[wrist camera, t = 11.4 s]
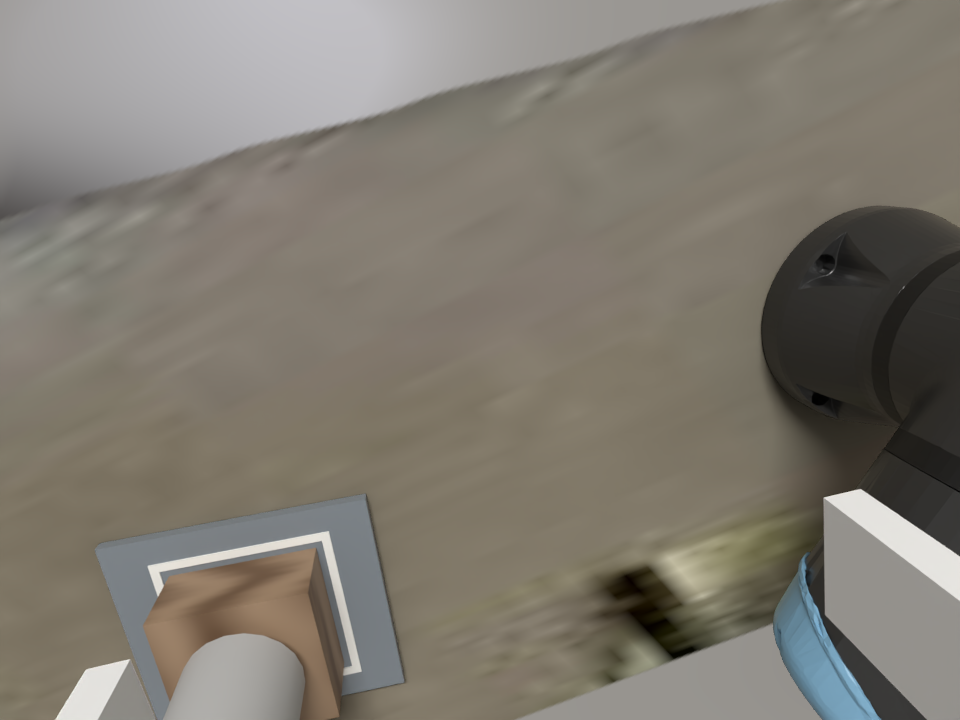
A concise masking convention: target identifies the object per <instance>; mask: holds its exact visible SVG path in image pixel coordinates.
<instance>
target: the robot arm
mask: <svg viewBox="0 0 960 720" xmlns="http://www.w3.org/2000/svg"><path fill="white" fill-rule="evenodd" d="M762 339H763V347H764V352H765V356H766V360H767V362H768V365H769V368H770V370H771V372H772V374H773V375H774V377H775V379H776V380H777V382H778V383H779V384H780V385H781V387H782V388H783V389H784V390H785V391H786V392H787V393H788V394H790V395H791V396H792V397H793V398H795V399H796V400H798V401H799V402H801V403H803V404H805V405H807V406H808V407H810V408H812V409H814V410H815V411H817V412H819V413H821V414H824V415H826V416H829V417H832V418H835V419H839V420H844V421H851V422H860V423H870V424H879V425H889V426H898V427H899V428H898V430H897V431H896V432H895V434H894V435H893V437H892V438H891V440H890V441H889V442H888V444H887V445H886V447H885V448H884V449H883V450H882V452H881V453H880V455H879V456H878V457H877V459H876V460H875V462H874V463H873V465H872V466H871V467H870V469H869V470H868V472H867V473H866V475H865V476H864V477H863V479H862V480H861V482H860V483H859V485H858V486H857V487H856V489H855V490H854V491H850V492H845V493H841V494H837V495H833V496H828V497H824V534H823V536H822V537H821V539H820V540H819V542H818V543H817V544H816V546H815V547H814V549H813V550H812V551H811V552H807V553H806V554H805V555H804V556H803V557H802V559H801V561H800V563H799V568H798V572H797V574H796V575H795V577H794V579H793V580H792V582H791V583H790V585H789V587H788V588H787V590H786V592H785V593H784V595H783V597H782V598H781V600H780V602H779V603H778V605H777V607H776V610H775V613H774V619H773V630H774V635H775V640H776V644H777V646H778V648H779V650H780V654H781V657H782V660H783V662H784V664H785V666H786V668H787V670H788V671H789V673H790V675H791V677H792V678H793V680H794V681H795V683H796V685H797V686H798V688H799V689H800V691H801V692H802V694H803V695H804V696H805V698H806V699H807V701H808V702H809V703H810V705H811V706H812V707H813V709H814V710H815V711H816V712H817V714H818V715H819V716H820V717H821V718H822V720H960V228H959V227H957V226H956V225H954V224H952V223H950V222H949V221H947V220H945V219H943V218H942V217H940V216H937V215H935V214H932V213H929V212H926V211H923V210H918V209H913V208H903V207H891V206H871V207H864V208H859V209H855V210H852V211H849V212H846V213H843V214H841V215H839V216H836V217H834V218H832V219H831V220H829V221H827V222H825V223H824V224H822V225H821V226H819V227H818V228H817V229H815V230H814V231H813V232H811V233H810V234H809V235H808V236H807V237H806V238H805V239H803V240H802V241H801V242H800V243H799V244H798V246H797V247H796V248H795V249H794V250H793V251H792V252H791V254H790V255H789V256H788V258H787V259H786V260H785V262H784V263H783V265H782V267H781V268H780V270H779V272H778V273H777V275H776V277H775V279H774V281H773V284H772V286H771V288H770V291H769V294H768V297H767V300H766V304H765V309H764V314H763V322H762ZM55 720H156V719H155V716H154V714H153V712H152V709H151V707H150V704H149V702H148V700H147V697H146V695H145V693H144V690H143V688H142V686H141V683H140V681H139V679H138V676H137V674H136V671H135V669H134V667H133V664H132V662H131V660H130V659H129V660H125V661H120V662H116V663H112V664H107V665H103V666H99V667H95V668H90V669H86V671H85V672H84V674H83V675H82V677H81V679H80V680H79V682H78V684H77V685H76V687H75V688H74V690H73V692H72V693H71V695H70V697H69V698H68V700H67V701H66V703H65V705H64V706H63V708H62V710H61V711H60V713H59V714H58V716H57V718H56V719H55Z"/></svg>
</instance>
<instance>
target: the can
mask: <svg viewBox="0 0 960 720" xmlns="http://www.w3.org/2000/svg"><path fill="white" fill-rule="evenodd" d="M304 688H305V677H304V670H303V666H302V665H301V663H300V661H299V660H298V658H297V657H296V655H295V653H293V652H292V651H291V650H290V649H289V648H287V647H286V646H285V645H284V644H282V643H281V642H279V641H276V640H274V639H271V638H269V637H266V636H263V635H255V634H246V633H242V634H235V635H227V636H223V637H220V638H218V639H216V640H213V641H211V642H208V643H206V644H205V645H204V646H202V647H201V648H200V649H199V650H198V651H196V652H195V653H194V654H193V655H192V656H191V657H190V659H189V661H188V662H187V664H186V666H185V667H184V669H183V671H182V673H181V676H180V678H179V681H178V683H177V686H176V688H175V691H174V693H173V696H172V698H171V701H170V703H169V706H168V708H167V711H166V713H165V716H164V718H163V720H300V713H301V707H302V701H303V694H304Z"/></svg>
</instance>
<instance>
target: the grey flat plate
mask: <svg viewBox="0 0 960 720" xmlns="http://www.w3.org/2000/svg"><path fill="white" fill-rule="evenodd" d="M312 548H316V549H317V553H318V557H319V561H320V565H321V569H322V573H323V578H324V582H325V586H326V590H327V594H328V598H329V602H330V606H331V610H332V614H333V618H334V622H335V626H336V630H337V635H338V639H339V643H340V647H341V651H342V655H343V659H344V671H343V683H342V695H341V696H343V695H348V694H353V693H357V692H362V691H366V690H371V689H376V688H380V687H385V686H390V685H394V684H399V683H404V672H403V667H402V662H401V658H400V653H399V648H398V643H397V639H396V634H395V629H394V625H393V620H392V615H391V610H390V606H389V601H388V596H387V591H386V587H385V582H384V577H383V572H382V568H381V563H380V558H379V553H378V549H377V544H376V539H375V535H374V530H373V525H372V520H371V516H370V511H369V506H368V501H367V497H366V494H361V495H356V496H350V497H345V498H340V499H334V500H329V501H324V502H318V503H313V504H308V505H302V506H297V507H292V508H286V509H281V510H276V511H270V512H265V513H259V514H254V515H249V516H243V517H238V518H233V519H227V520H222V521H217V522H211V523H206V524H201V525H195V526H190V527H185V528H179V529H174V530H169V531H163V532H158V533H152V534H147V535H142V536H136V537H131V538H126V539H120V540H115V541H110V542H104V543H100V544H99V545H98V546H97V548H96V549H95V552H96V555H97V558H98V560H99V563H100V566H101V569H102V571H103V574H104V577H105V579H106V582H107V585H108V587H109V590H110V593H111V596H112V598H113V601H114V604H115V606H116V609H117V612H118V615H119V617H120V620H121V623H122V625H123V628H124V631H125V633H126V636H127V639H128V642H129V644H130V647H131V650H132V652H133V655H134V658H135V661H136V663H137V666H138V669H139V671H140V674H141V677H142V679H143V682H144V685H145V688H146V690H147V693H148V696H149V698H150V701H151V704H152V707H153V709H154V712H155V715H156V717H157V720H163V718H164V716H165V713H166V711H167V708H168V706H169V703H170V701H169V698H168V695H167V693H166V690H165V687H164V684H163V681H162V679H161V676H160V673H159V670H158V667H157V665H156V662H155V659H154V656H153V653H152V651H151V648H150V645H149V642H148V640H147V637H146V634H145V631H144V628H143V624H144V622H145V621H146V619H147V617H148V615H149V613H150V611H151V609H152V607H153V606H154V604H155V602H156V600H157V598H158V596H159V594H160V592H161V590H162V589H163V587H164V585H165V583H166V581H167V579H168V577H169V576H172V575H178V574H183V573H188V572H193V571H198V570H203V569H208V568H214V567H219V566H224V565H229V564H234V563H239V562H245V561H250V560H255V559H260V558H265V557H270V556H276V555H281V554H286V553H291V552H296V551H301V550H307V549H312Z"/></svg>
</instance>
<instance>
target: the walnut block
mask: <svg viewBox="0 0 960 720" xmlns="http://www.w3.org/2000/svg"><path fill="white" fill-rule="evenodd" d="M143 628H144V631H145V634H146V637H147V640H148V642H149V645H150V648H151V651H152V653H153V656H154V659H155V662H156V665H157V667H158V670H159V673H160V676H161V679H162V681H163V684H164V687H165V690H166V693H167V695H168V698H169V701H171V698H172V696H173V693H174V691H175V688H176V686H177V683H178V681H179V678H180V676H181V673H182V671H183V669H184V667H185V666H186V664H187V662H188V661H189V659H190V657H191V656H192V655H193V654H194V653H195V652H196V651H198V650H199V649H200V648H201V647H202V646H204V645H205V644H206V643H208V642H211V641H213V640H216V639H218V638H220V637H223V636H227V635H235V634H242V633H246V634H255V635H263V636H266V637H269V638H271V639H274V640H276V641H279V642H281V643H282V644H284V645H285V646H286V647H287V648H289V649H290V650H291V651H292V652H293V653H295V655H296V657H297V658H298V660H299V661H300V663H301V665H302V666H303V670H304V677H305V688H304V694H303V701H302V707H301V713H300V720H327V719H332V718H336V717H340V707H341V695H342V683H343V671H344V659H343V655H342V651H341V647H340V643H339V639H338V635H337V630H336V626H335V622H334V618H333V614H332V610H331V606H330V602H329V598H328V594H327V590H326V586H325V582H324V578H323V573H322V569H321V565H320V561H319V557H318V553H317V549H316V548H312V549H307V550H301V551H296V552H291V553H286V554H281V555H276V556H270V557H265V558H260V559H255V560H250V561H245V562H239V563H234V564H229V565H224V566H219V567H214V568H208V569H203V570H198V571H193V572H188V573H183V574H178V575H172V576H169V577H168V579H167V581H166V583H165V585H164V587H163V589H162V590H161V592H160V594H159V596H158V598H157V600H156V602H155V604H154V606H153V607H152V609H151V611H150V613H149V615H148V617H147V619H146V621H145V622H144V624H143Z"/></svg>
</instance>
